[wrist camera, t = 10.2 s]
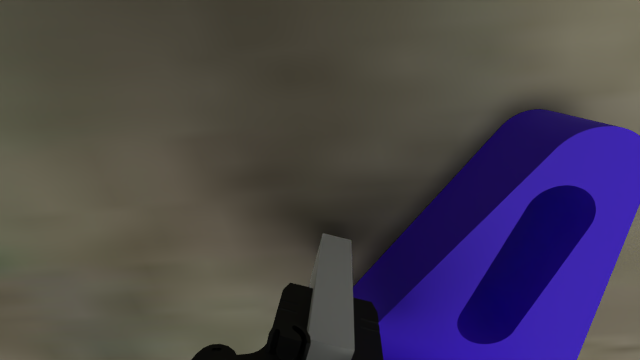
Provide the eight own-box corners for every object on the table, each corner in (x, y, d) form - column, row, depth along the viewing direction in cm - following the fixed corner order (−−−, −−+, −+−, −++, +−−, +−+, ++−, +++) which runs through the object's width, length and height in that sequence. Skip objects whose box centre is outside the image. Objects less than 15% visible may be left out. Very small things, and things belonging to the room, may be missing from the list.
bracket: (475, 392, 21) (614, 747, 10) (322, 346, 21) (296, 662, 10) (656, 147, 15) (1550, 389, 4) (441, 73, 14) (743, 107, 3)
